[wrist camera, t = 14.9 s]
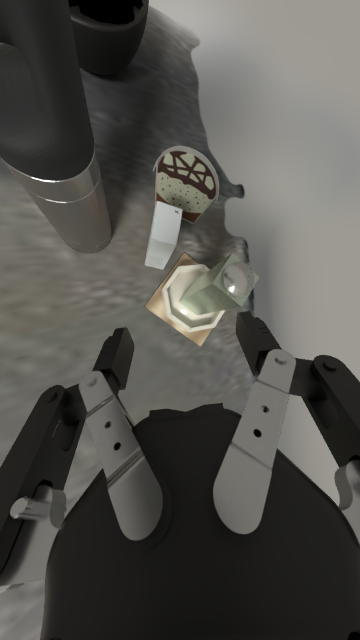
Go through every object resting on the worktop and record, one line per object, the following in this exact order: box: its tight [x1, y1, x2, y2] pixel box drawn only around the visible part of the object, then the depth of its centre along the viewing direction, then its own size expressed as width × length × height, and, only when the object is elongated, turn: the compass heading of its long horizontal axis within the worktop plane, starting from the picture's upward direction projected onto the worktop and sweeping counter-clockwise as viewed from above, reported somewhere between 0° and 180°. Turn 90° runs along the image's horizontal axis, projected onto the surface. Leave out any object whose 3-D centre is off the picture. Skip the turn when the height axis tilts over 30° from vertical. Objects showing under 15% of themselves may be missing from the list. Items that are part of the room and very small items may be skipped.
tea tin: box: [179, 253, 259, 315], centre depth 30 cm, size 5×5×17 cm
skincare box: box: [145, 201, 183, 270], centre depth 32 cm, size 6×4×12 cm
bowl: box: [161, 264, 225, 332], centre depth 37 cm, size 14×14×3 cm
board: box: [145, 253, 212, 346], centre depth 39 cm, size 15×15×1 cm
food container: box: [153, 146, 219, 224], centre depth 34 cm, size 12×6×10 cm, turn 74°
